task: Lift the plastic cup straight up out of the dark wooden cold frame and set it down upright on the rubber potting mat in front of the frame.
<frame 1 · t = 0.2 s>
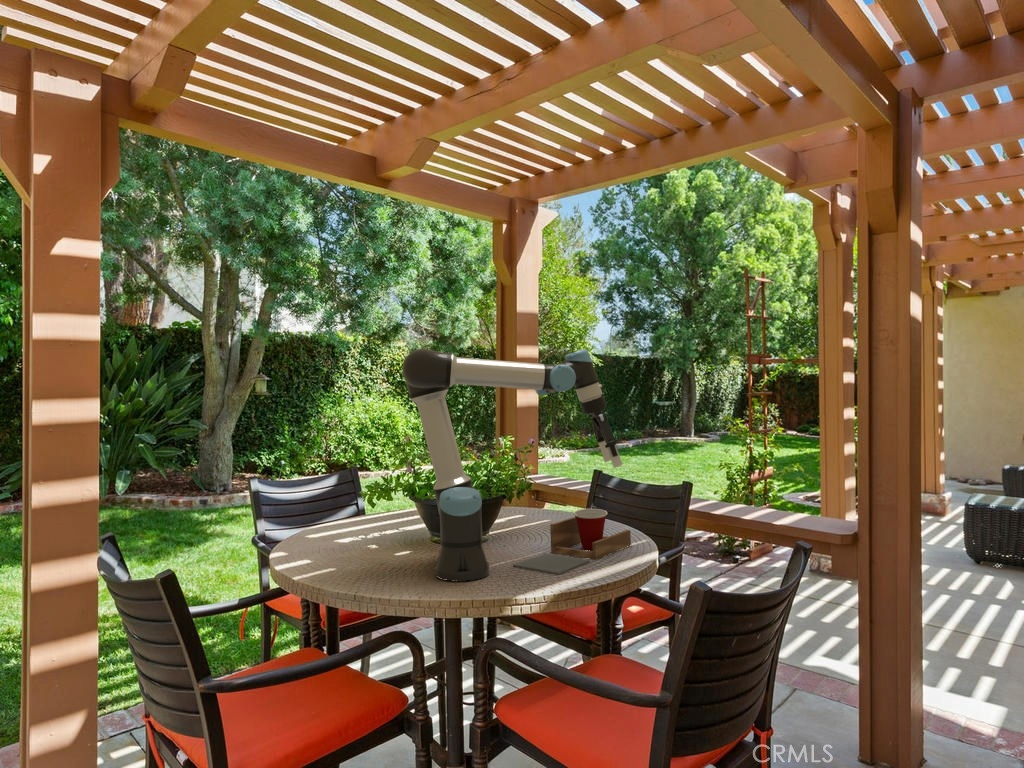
hand: (613, 463, 203), 28 cm above the table, tool tilted 15°, fingers open, 13 cm apart
plastic cup: (591, 550, 207), resting in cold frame
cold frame: (591, 549, 207), on the table
potting mat: (551, 564, 190), on the table
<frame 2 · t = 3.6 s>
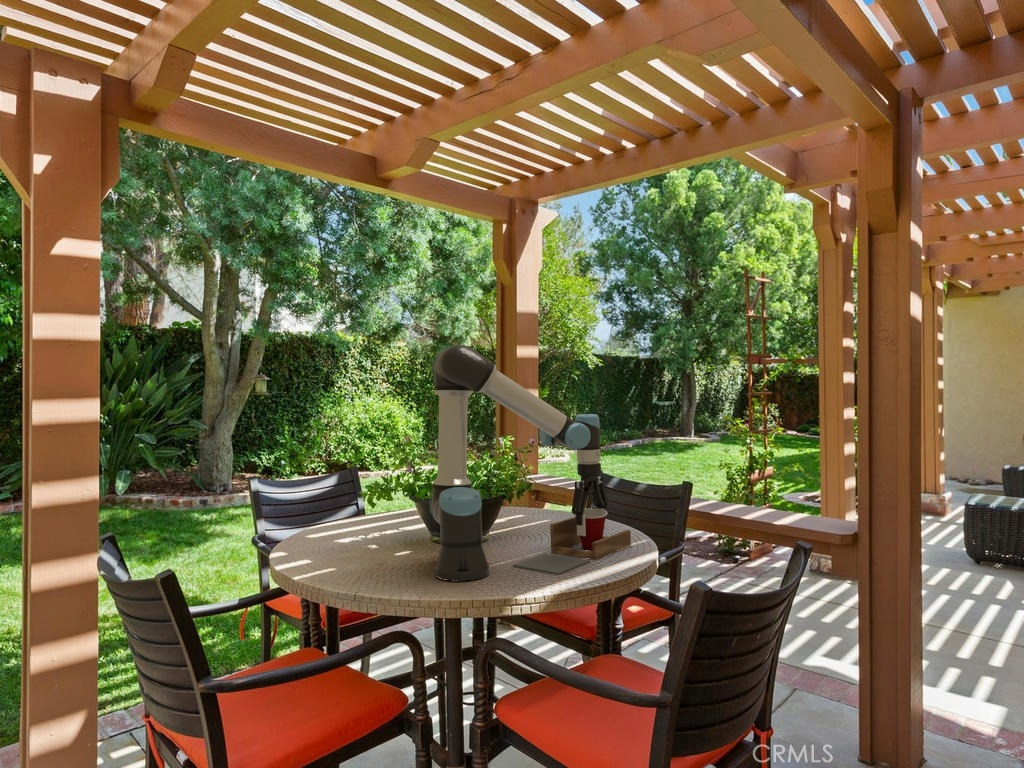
hand: (591, 532, 208), 5 cm above the table, tool pointing down, fingers closed on plastic cup, 11 cm apart
plastic cup: (591, 550, 207), resting in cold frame, touching gripper
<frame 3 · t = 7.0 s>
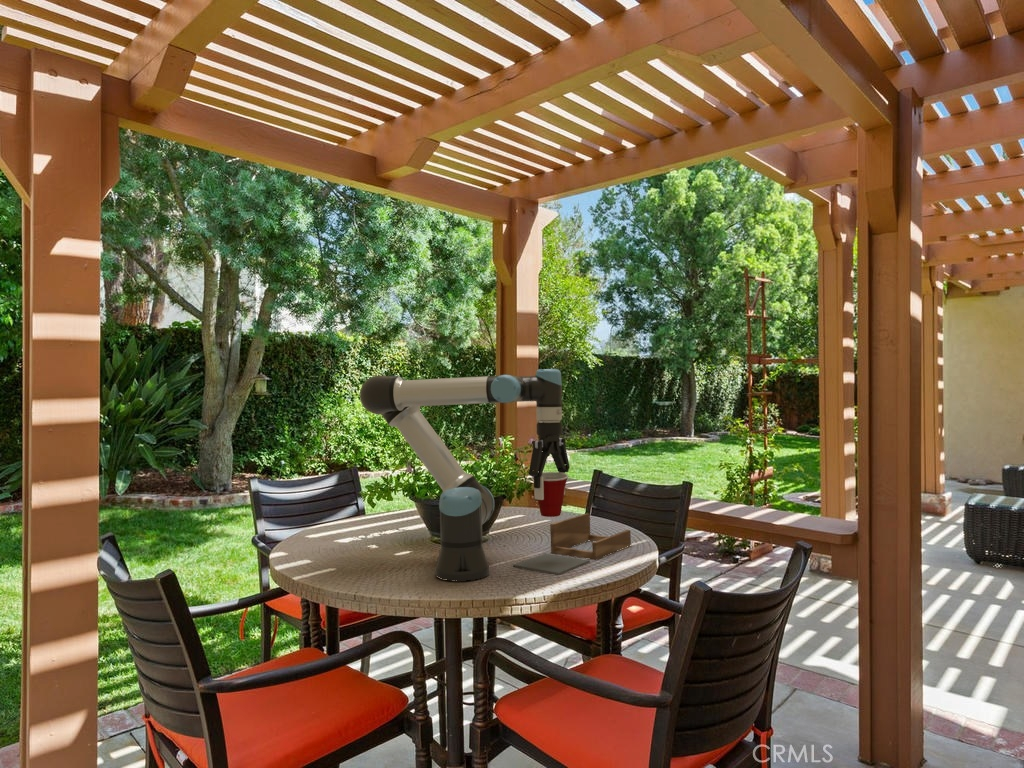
hand: (550, 496, 192), 20 cm above the table, tool pointing down, fingers closed on plastic cup, 11 cm apart
plastic cup: (550, 516, 191), point 14 cm above the table, touching gripper
when the fingers open (7 cm above the table, at t = 10.6 s): plastic cup stays where it is, resting on potting mat.
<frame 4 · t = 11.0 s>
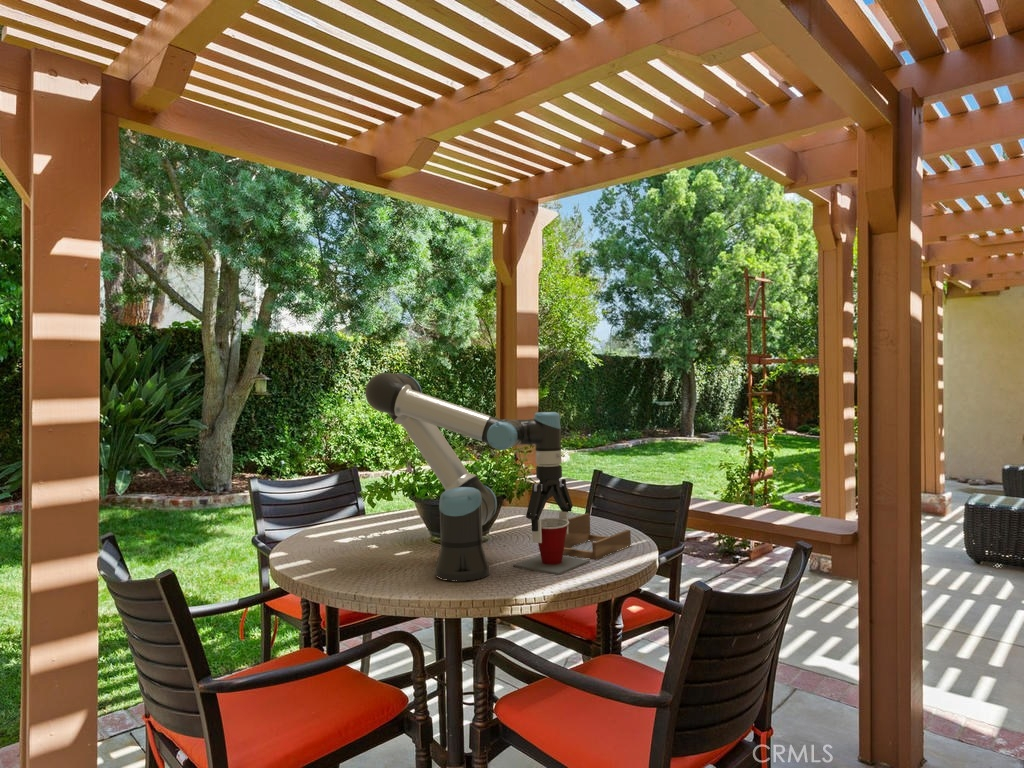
hand: (551, 538, 190), 8 cm above the table, tool pointing down, fingers open, 13 cm apart
plastic cup: (551, 563, 190), resting on potting mat
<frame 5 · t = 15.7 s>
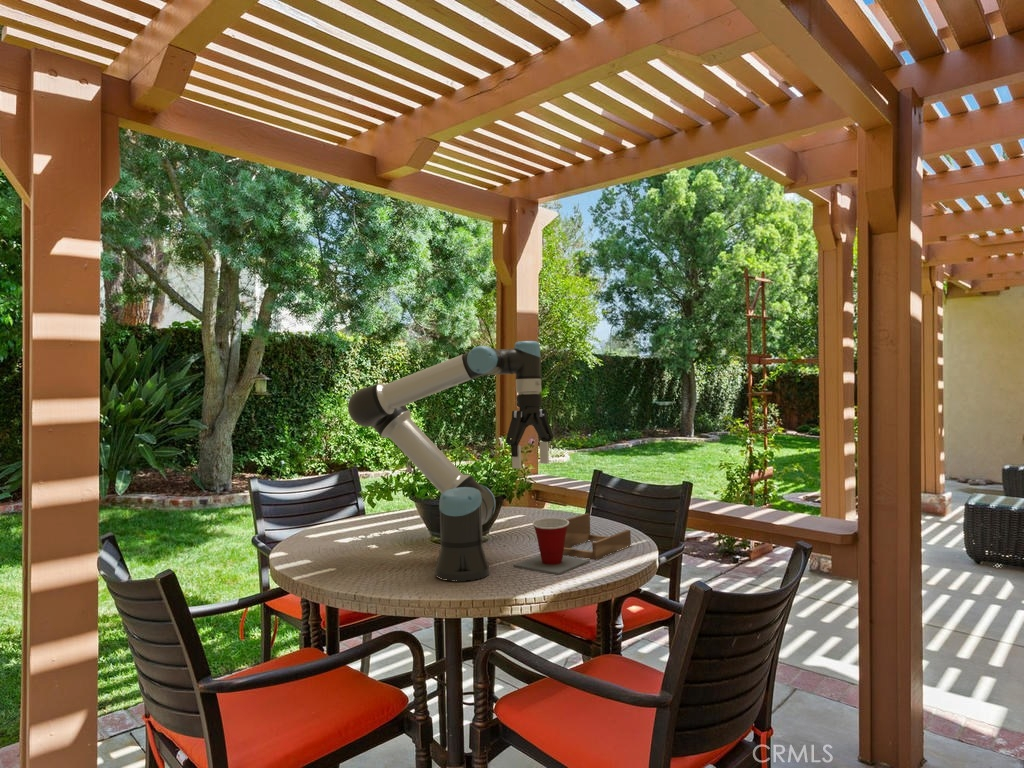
hand: (531, 465, 192), 29 cm above the table, tool pointing down, fingers open, 13 cm apart
nothing on the table moved.
at the end: plastic cup inside the target area on the potting mat (0.0 cm from its centre), point 0.4 cm above the potting mat's base; plastic cup tilted 0°; the gripper is holding nothing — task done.
